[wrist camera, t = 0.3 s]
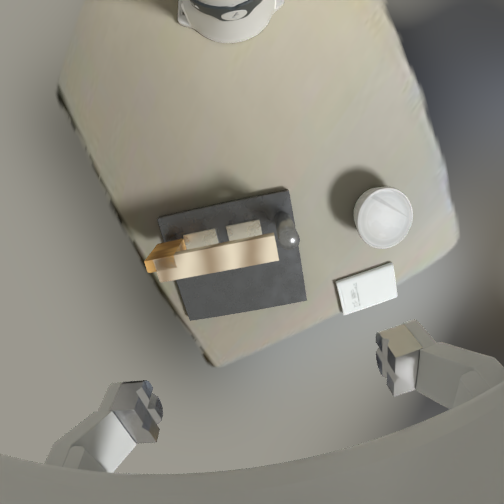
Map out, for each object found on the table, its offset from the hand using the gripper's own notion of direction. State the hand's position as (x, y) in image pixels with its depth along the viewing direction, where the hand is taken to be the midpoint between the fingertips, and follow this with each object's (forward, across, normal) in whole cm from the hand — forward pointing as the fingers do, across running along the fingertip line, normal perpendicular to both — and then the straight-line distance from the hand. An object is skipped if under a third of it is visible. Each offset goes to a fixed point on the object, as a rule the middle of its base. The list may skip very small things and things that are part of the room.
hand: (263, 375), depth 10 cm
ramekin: (+48, -23, +10) cm, 54 cm away
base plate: (+48, +5, +13) cm, 50 cm away
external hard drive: (+49, -20, +26) cm, 58 cm away
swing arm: (+45, +7, +8) cm, 46 cm away
